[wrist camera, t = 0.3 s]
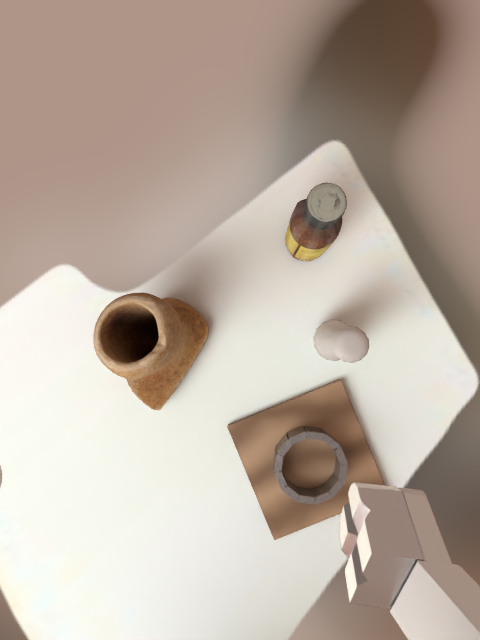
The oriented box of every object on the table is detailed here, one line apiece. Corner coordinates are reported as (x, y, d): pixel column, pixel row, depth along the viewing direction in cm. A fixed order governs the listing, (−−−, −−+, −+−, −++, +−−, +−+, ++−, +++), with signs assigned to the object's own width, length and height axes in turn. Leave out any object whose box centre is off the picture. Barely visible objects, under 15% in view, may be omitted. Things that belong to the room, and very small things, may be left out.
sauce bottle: (334, 238, 61) (377, 201, 41) (307, 271, 61) (336, 249, 42) (301, 210, 61) (326, 159, 42) (273, 242, 61) (286, 207, 42)
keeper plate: (386, 491, 62) (388, 494, 61) (273, 536, 62) (274, 540, 61) (339, 379, 61) (341, 380, 60) (227, 425, 62) (227, 426, 61)
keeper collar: (352, 479, 61) (357, 487, 58) (289, 504, 61) (291, 514, 58) (326, 416, 61) (330, 421, 58) (263, 441, 61) (263, 448, 58)
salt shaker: (341, 364, 61) (366, 377, 48) (305, 350, 62) (321, 360, 49) (355, 327, 61) (384, 331, 48) (319, 314, 61) (339, 313, 48)
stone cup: (155, 280, 62) (125, 269, 47) (220, 326, 62) (211, 329, 47) (97, 363, 62) (49, 378, 47) (161, 409, 62) (134, 438, 47)
